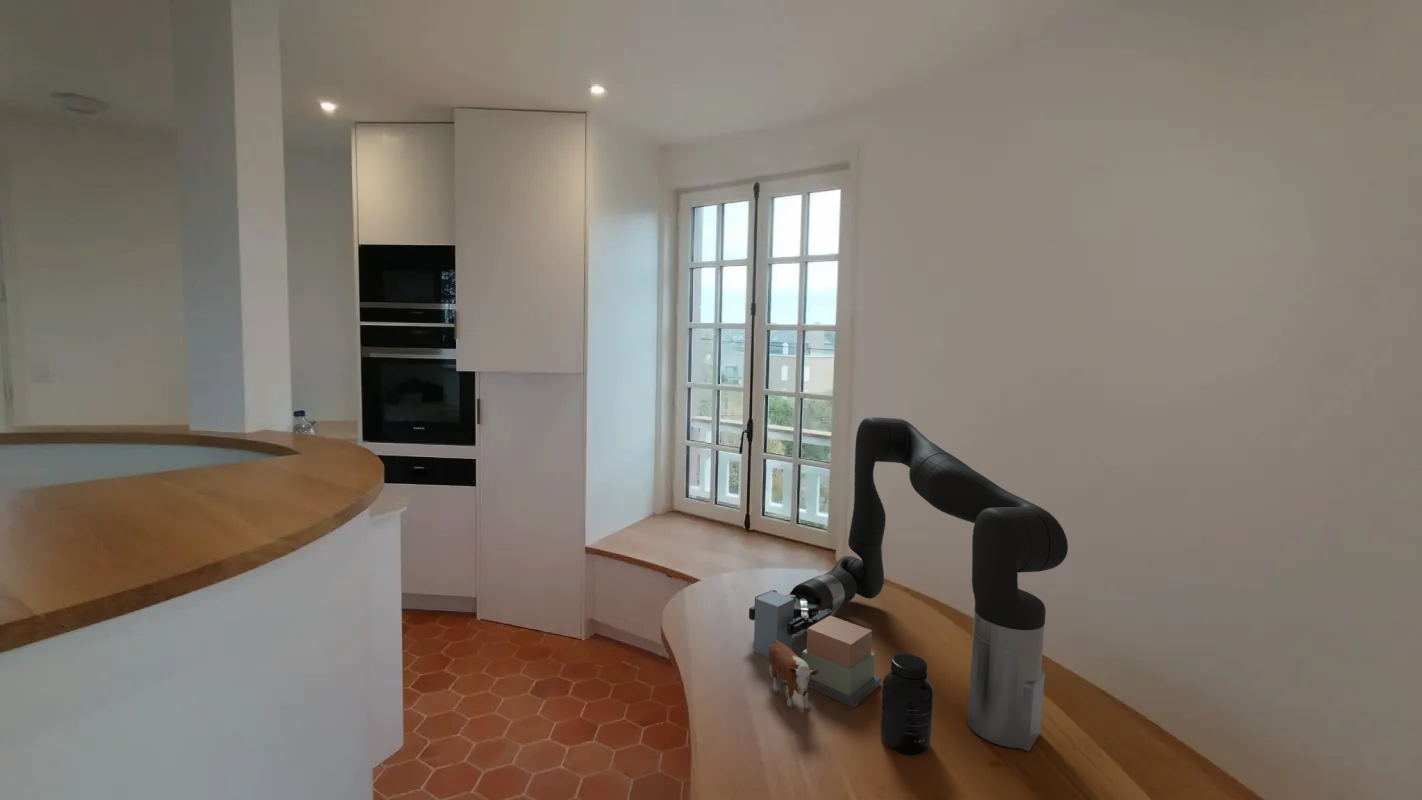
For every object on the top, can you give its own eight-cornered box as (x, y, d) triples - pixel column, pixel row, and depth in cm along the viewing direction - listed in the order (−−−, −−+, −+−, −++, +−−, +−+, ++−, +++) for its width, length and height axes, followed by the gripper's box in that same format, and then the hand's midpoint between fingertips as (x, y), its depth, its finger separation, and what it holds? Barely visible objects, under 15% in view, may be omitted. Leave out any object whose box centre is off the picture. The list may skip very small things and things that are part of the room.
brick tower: (880, 685, 102) (883, 631, 102) (853, 707, 96) (856, 650, 95) (823, 661, 110) (825, 611, 109) (794, 680, 103) (796, 627, 102)
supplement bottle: (870, 731, 90) (874, 651, 89) (910, 724, 92) (915, 646, 91) (897, 761, 83) (902, 676, 82) (940, 753, 85) (945, 669, 84)
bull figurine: (795, 727, 90) (797, 673, 90) (763, 679, 103) (765, 632, 103) (822, 723, 91) (825, 670, 91) (787, 676, 104) (789, 629, 104)
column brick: (791, 651, 113) (794, 598, 112) (775, 661, 109) (778, 606, 109) (769, 642, 116) (772, 590, 116) (753, 651, 113) (755, 598, 112)
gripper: (789, 569, 128) (739, 590, 116) (850, 589, 118) (803, 614, 106) (787, 604, 128) (737, 629, 116) (848, 627, 119) (801, 656, 107)
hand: (769, 622), depth 111 cm, fingers open, 8 cm apart
